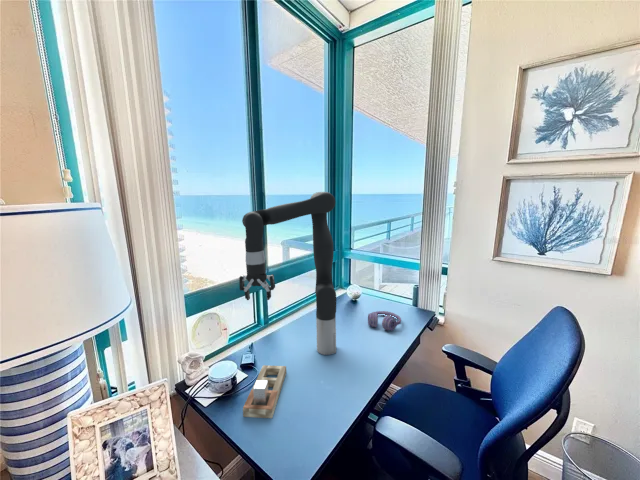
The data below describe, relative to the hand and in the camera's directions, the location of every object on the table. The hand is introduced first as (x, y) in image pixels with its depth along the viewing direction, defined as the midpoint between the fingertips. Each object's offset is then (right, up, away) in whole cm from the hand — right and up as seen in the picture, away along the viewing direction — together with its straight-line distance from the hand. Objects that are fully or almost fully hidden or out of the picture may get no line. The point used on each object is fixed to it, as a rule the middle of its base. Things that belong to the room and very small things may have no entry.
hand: (258, 299), depth 108 cm
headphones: (+63, -24, +42) cm, 80 cm away
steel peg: (+5, -35, -16) cm, 38 cm away
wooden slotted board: (+6, -33, -9) cm, 35 cm away
